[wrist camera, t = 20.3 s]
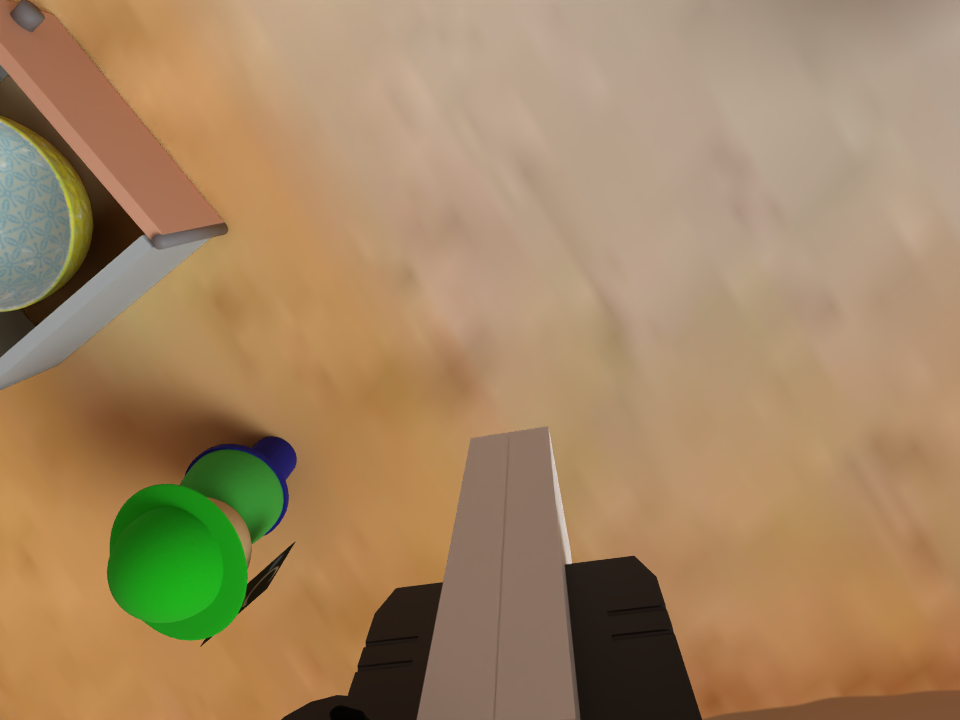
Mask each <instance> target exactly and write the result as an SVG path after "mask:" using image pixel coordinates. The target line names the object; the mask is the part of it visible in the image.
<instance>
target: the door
mask: <svg viewBox="0 0 960 720" xmlns="http://www.w3.org/2000/svg"><path fill="white" fill-rule="evenodd" d="M0 65H1V66H2V67H3V68H4V69H5V71H6V72H7V73H8V74H9V75H10V76H11V78H12V79H13V80H14V81H15V82H16V84H17V85H18V86H19V87H20V88H21V89H22V91H23V92H24V93H25V94H26V95H27V96H28V98H29V99H30V100H31V101H32V102H33V103H34V105H35V106H36V107H37V108H38V109H39V110H40V112H41V113H42V114H43V115H44V116H45V117H46V119H47V120H48V121H49V122H50V123H51V124H52V126H53V127H54V128H55V129H56V130H57V131H58V133H59V134H60V135H61V136H62V137H63V138H64V140H65V141H66V142H67V143H68V144H69V145H70V147H71V148H72V149H73V150H74V151H75V153H76V154H77V155H78V156H79V157H80V158H81V160H82V161H83V162H84V163H85V164H86V165H87V167H88V168H89V169H90V170H91V171H92V172H93V174H94V175H95V176H96V177H97V178H98V179H99V181H100V182H101V183H102V184H103V185H104V186H105V188H106V189H107V190H108V191H109V192H110V193H111V195H112V196H113V197H114V198H115V199H116V200H117V202H118V203H119V204H120V205H121V206H122V207H123V209H124V210H125V211H126V212H127V213H128V214H129V216H130V217H131V218H132V219H133V220H134V221H135V223H136V224H137V225H138V226H139V227H140V229H141V230H142V231H143V232H144V233H145V234H146V236H147V237H148V238H149V239H150V240H151V243H152V245H153V247H154V248H156V249H158V250H161V249H166V248H170V247H174V246H178V245H182V244H186V243H191V242H195V241H199V240H203V239H207V238H212V237H216V236H220V235H224V234H226V233H227V231H228V227H227V225H226V224H225V223H224V221H223V220H222V219H221V218H220V217H219V215H218V214H217V213H216V212H215V211H214V209H213V208H212V207H211V206H210V204H209V203H208V202H207V201H206V200H205V198H204V197H203V196H202V195H201V193H200V192H199V191H198V190H197V189H196V187H195V186H194V185H193V184H192V182H191V181H190V180H189V179H188V178H187V176H186V175H185V174H184V173H183V171H182V170H181V169H180V168H179V167H178V165H177V164H176V163H175V162H174V161H173V159H172V158H171V157H170V156H169V154H168V153H167V152H166V151H165V150H164V148H163V147H162V146H161V145H160V143H159V142H158V141H157V140H156V139H155V137H154V136H153V135H152V134H151V132H150V131H149V130H148V129H147V128H146V126H145V125H144V124H143V123H142V122H141V120H140V119H139V118H138V117H137V115H136V114H135V113H134V112H133V111H132V109H131V108H130V107H129V106H128V104H127V103H126V102H125V101H124V100H123V98H122V97H121V96H120V95H119V93H118V92H117V91H116V90H115V89H114V87H113V86H112V85H111V84H110V83H109V81H108V80H107V79H106V78H105V76H104V75H103V74H102V73H101V72H100V70H99V69H98V68H97V67H96V65H95V64H94V63H93V62H92V61H91V59H90V58H89V57H88V56H87V54H86V53H85V52H84V51H83V50H82V48H81V47H80V46H79V45H78V43H77V42H76V41H75V40H74V39H73V37H72V36H71V35H70V34H69V33H68V31H67V30H66V29H65V28H64V26H63V25H62V24H61V23H60V22H59V20H58V19H57V18H56V17H55V15H52V14H49V13H46V12H43V11H41V10H40V9H39V8H38V7H36V6H35V5H34V4H33V3H31V2H30V1H28V0H21V1H20V2H19V4H17V3H14V2H11V1H8V0H0Z"/></svg>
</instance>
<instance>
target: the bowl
mask: <svg viewBox="0 0 960 720" xmlns="http://www.w3.org/2000/svg"><path fill="white" fill-rule="evenodd" d="M92 232H93V218H92V209H91V203H90V199H89V196H88V194H87V192H86V189H85V187H84V185H83V183H82V181H81V179H80V177H79V175H78V174H77V172H76V171H75V169H74V168H73V167H72V166H71V164H70V163H69V162H68V160H67V159H66V158H65V157H64V156H63V155H62V154H61V153H60V152H59V151H58V150H57V149H56V148H55V147H54V146H53V145H52V144H51V143H49V142H48V141H47V140H46V139H44V138H43V137H41V136H40V135H38V134H37V133H35V132H34V131H32V130H30V129H29V128H27V127H25V126H23V125H21V124H19V123H18V122H16V121H14V120H11V119H9V118H6V117H4V116H1V115H0V312H4V311H12V310H17V309H21V308H25V307H27V306H30V305H32V304H34V303H36V302H38V301H41V300H43V299H45V298H47V297H49V296H50V295H52V294H53V293H54V292H56V291H57V290H58V289H60V288H61V287H63V286H64V285H65V284H66V283H67V282H68V281H69V280H70V279H71V278H72V277H73V275H74V274H75V273H76V272H77V271H78V269H79V268H80V266H81V265H82V263H83V262H84V259H85V257H86V256H87V253H88V250H89V247H90V243H91V238H92Z"/></svg>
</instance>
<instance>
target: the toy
mask: <svg viewBox="0 0 960 720" xmlns="http://www.w3.org/2000/svg"><path fill="white" fill-rule="evenodd" d="M295 465H296V453H295V451H294V449H293V448H292V446H291V445H290V444H289V443H288V442H286V441H285V440H283V439H281V438H278V437H266V438H263V439H261V440H259V441H258V442H257V443H256V444H255V445H254V446H253V447H252V448H250V447H246V446H242V445H237V444H223V445H218V446H215V447H211V448H209V449H207V450H206V451H204V452H202V453H201V454H200V455H199V456H198V457H197V458H196V459H195V460H193V461H192V463H191V464H190V466H189V467H188V469H187V471H186V473H185V477H184V479H183V480H182V482H181V484H180V485H174V484H159V485H153V486H150V487H147V488H145V489H142V490H140V491H139V492H137V493H136V494H134V495H133V496H132V497H131V498H130V499H128V500H127V502H126V503H125V504H124V505H123V506H122V508H121V509H120V511H119V513H118V515H117V517H116V519H115V521H114V524H113V528H112V531H111V538H110V557H109V561H108V567H107V578H108V584H109V588H110V591H111V593H112V596H113V597H114V599H115V601H116V602H117V603H118V604H119V606H120V607H121V608H122V609H123V610H124V611H126V612H127V613H129V614H130V615H132V616H134V617H135V618H138V619H140V620H142V621H144V622H145V623H146V624H147V625H149V626H150V627H152V628H153V629H155V630H156V631H158V632H160V633H162V634H164V635H167V636H169V637H172V638H176V639H180V640H190V641H191V640H201V639H205V640H204V642H203V643H202V645H203V644H204V643H205V642H207V641H208V640H209V639H210V638H211V637H212V636H214V635H216V634H217V633H219V632H221V631H222V630H223V629H225V628H226V627H227V626H228V625H229V624H230V623H231V622H232V621H233V620H234V618H235V617H236V615H237V614H239V613H240V612H241V611H242V610H243V609H244V608H245V607H247V606H248V605H249V604H250V603H251V602H252V601H253V600H255V599H256V598H257V597H258V596H259V595H260V594H261V593H263V592H264V591H265V590H266V589H267V588H268V586H269V584H270V583H271V581H272V580H273V578H274V576H275V575H276V573H277V571H278V570H279V568H280V566H281V565H282V563H283V561H284V560H285V558H286V556H287V555H288V553H289V551H290V550H291V548H292V546H293V545H294V543H295V542H294V543H293V544H292V545H291V546H289V547H288V548H287V549H286V550H285V551H284V552H283V553H282V554H280V555H279V556H278V557H277V558H276V559H275V560H274V561H273V562H271V563H270V564H269V565H268V566H267V567H266V568H265V569H264V570H262V571H261V572H260V573H259V574H258V575H257V576H256V577H255V578H253V579H252V580H251V581H250V582H249V583H248V584H247V575H248V573H247V569H248V566H249V563H250V558H251V550H252V548H251V545H252V544H253V543H254V542H256V541H257V540H259V539H260V538H261V537H262V536H265V535H267V534H268V533H270V532H271V531H273V530H274V529H275V527H276V526H277V525H278V524H279V523H280V521H281V520H282V518H283V517H284V515H285V513H286V510H287V507H288V500H289V495H288V488H287V484H286V481H285V480H286V479H287V478H288V476H289V475H290V474H291V472H292V471H293V469H294V468H295ZM202 645H201V646H202ZM201 646H200V647H201Z"/></svg>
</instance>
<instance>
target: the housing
mask: <svg viewBox="0 0 960 720" xmlns="http://www.w3.org/2000/svg"><path fill="white" fill-rule="evenodd" d="M7 75H8V73H7V72H6V71H5V69H4V68H3V67H2V66H1V65H0V82H1V81H2V80H3V79H4V78H5V77H6V76H7ZM209 239H210V238H207V239H203V240H199V241H195V242H191V243H186V244H182V245H178V246H174V247H170V248H166V249H161V250H158V249H156V248H154V247H153V245H152V243H151V240H150V239H149V238H148V237H147V236H146V235H142V236H140V237H139V238H138V239H137V240H136V241H135V242H134V243H132V244H131V245H130V246H129V247H128V248H127V249H125V250H124V251H123V252H122V253H121V254H120V255H118V256H117V257H116V258H115V259H114V260H113V261H112V262H110V263H109V264H108V265H107V266H106V267H105V268H103V269H102V270H101V271H100V272H99V273H98V274H96V275H95V276H94V277H93V278H92V279H91V280H90V281H88V282H87V283H86V284H85V285H84V286H83V287H81V288H80V289H79V290H78V291H77V292H76V293H74V294H73V295H72V296H71V297H70V298H69V299H68V300H66V301H65V302H64V303H63V304H62V305H61V306H59V307H58V308H57V309H56V310H55V311H54V312H52V313H51V314H50V315H49V316H48V317H47V318H46V319H44V320H43V321H42V322H41V323H40V324H39V325H37V326H36V327H35V325H34V324H33V323H32V322H31V321H30V320H29V319H28V318H27V317H26V316H25V315H24V314H23V312H22V311H21V310H20V309H17V310H12V311H4V312H0V390H2V389H4V388H7V387H9V386H11V385H13V384H16V383H18V382H20V381H23V380H25V379H27V378H30V377H32V376H34V375H37V374H39V373H41V372H43V371H46V370H48V369H50V368H53V367H55V366H57V365H59V364H60V363H61V362H62V361H64V360H65V359H66V358H67V357H68V356H70V355H71V354H72V353H73V352H74V351H76V350H77V349H78V348H79V347H80V346H82V345H83V344H84V343H85V342H86V341H88V340H89V339H90V338H91V337H92V336H94V335H95V334H96V333H97V332H98V331H100V330H101V329H102V328H103V327H104V326H106V325H107V324H108V323H109V322H110V321H112V320H113V319H114V318H115V317H116V316H118V315H119V314H120V313H121V312H122V311H124V310H125V309H126V308H127V307H129V306H130V305H131V304H132V303H133V302H135V301H136V300H137V299H138V298H139V297H141V296H142V295H143V294H144V293H145V292H147V291H148V290H149V289H150V288H151V287H153V286H154V285H155V284H156V283H157V282H159V281H160V280H161V279H162V278H163V277H165V276H166V275H167V274H168V273H169V272H171V271H172V270H173V269H174V268H175V267H177V266H178V265H179V264H180V263H181V262H183V261H184V260H185V259H186V258H187V257H189V256H190V255H191V254H192V253H193V252H195V251H196V250H197V249H198V248H199V247H201V246H202V245H203V244H204V243H205V242H207V241H208V240H209Z"/></svg>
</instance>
